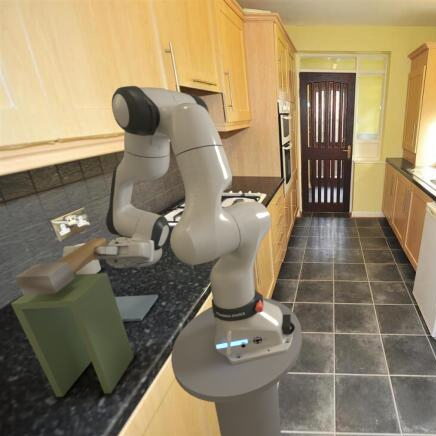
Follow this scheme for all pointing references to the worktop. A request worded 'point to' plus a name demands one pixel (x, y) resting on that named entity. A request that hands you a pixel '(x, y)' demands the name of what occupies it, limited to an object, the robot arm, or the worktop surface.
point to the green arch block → (76, 332)
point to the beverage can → (89, 266)
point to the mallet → (58, 270)
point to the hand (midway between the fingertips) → (87, 250)
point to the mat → (134, 306)
